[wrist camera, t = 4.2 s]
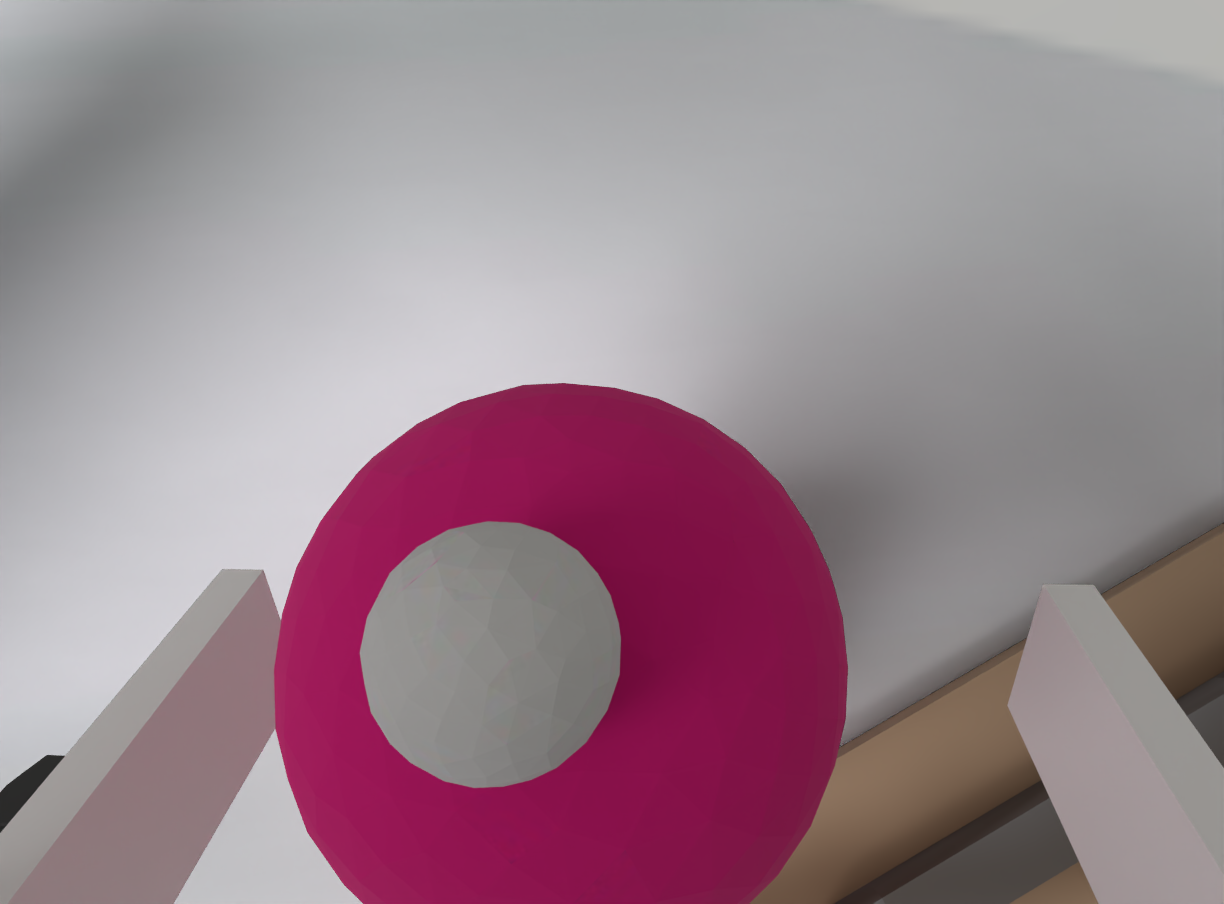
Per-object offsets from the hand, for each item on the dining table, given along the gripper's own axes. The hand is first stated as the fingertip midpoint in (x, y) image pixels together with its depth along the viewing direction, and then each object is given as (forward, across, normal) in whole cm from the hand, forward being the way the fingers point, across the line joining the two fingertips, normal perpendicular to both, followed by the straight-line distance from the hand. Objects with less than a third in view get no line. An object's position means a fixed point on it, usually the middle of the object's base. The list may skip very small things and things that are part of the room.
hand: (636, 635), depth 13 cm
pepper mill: (+8, 0, -8) cm, 11 cm away
